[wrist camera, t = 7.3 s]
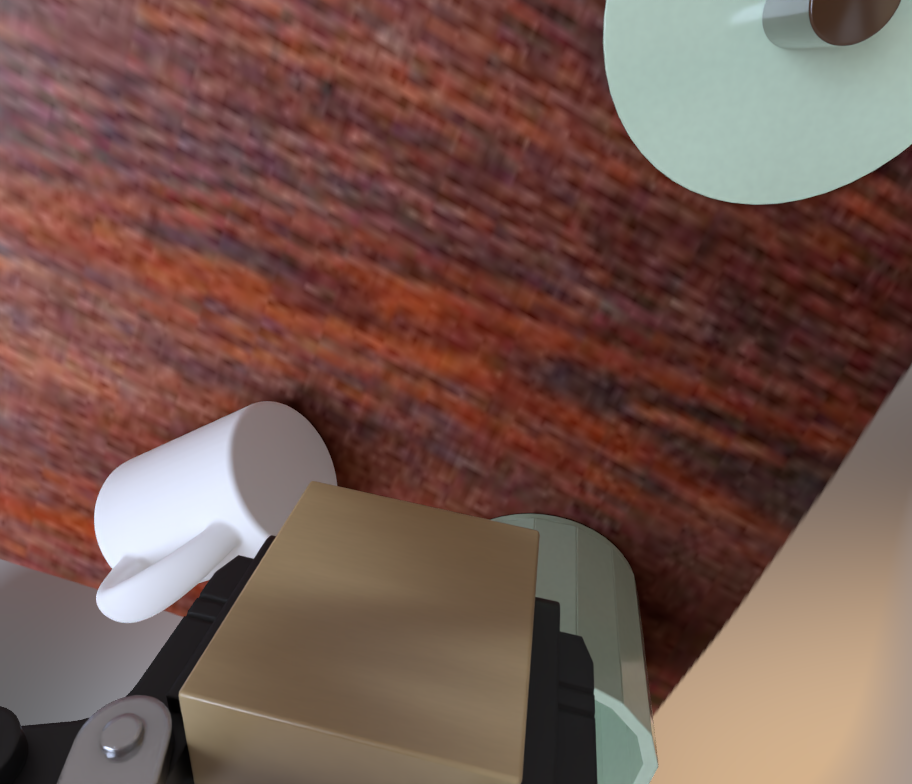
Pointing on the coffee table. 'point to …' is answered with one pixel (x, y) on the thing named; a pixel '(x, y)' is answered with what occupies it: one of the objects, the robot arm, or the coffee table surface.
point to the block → (371, 651)
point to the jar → (601, 638)
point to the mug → (202, 504)
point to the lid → (762, 91)
